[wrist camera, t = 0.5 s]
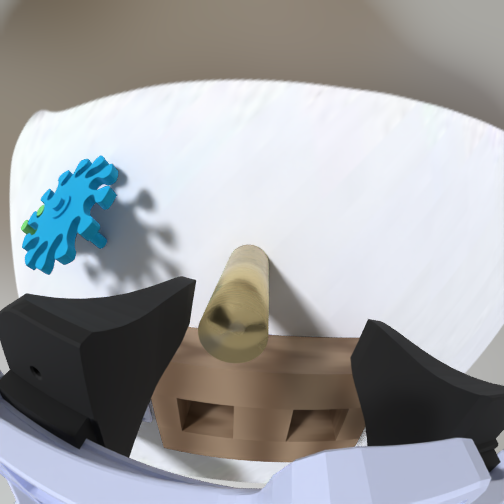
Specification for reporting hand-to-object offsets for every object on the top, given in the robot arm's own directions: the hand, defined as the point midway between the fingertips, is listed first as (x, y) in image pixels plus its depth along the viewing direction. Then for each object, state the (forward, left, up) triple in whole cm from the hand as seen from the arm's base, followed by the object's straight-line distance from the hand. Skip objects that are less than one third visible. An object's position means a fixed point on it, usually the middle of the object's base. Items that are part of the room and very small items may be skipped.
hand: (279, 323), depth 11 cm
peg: (-2, -1, -10) cm, 11 cm away
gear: (-16, +3, -11) cm, 19 cm away
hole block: (0, -13, -10) cm, 17 cm away
